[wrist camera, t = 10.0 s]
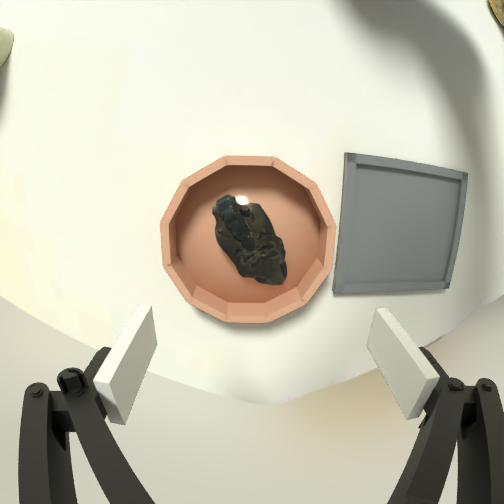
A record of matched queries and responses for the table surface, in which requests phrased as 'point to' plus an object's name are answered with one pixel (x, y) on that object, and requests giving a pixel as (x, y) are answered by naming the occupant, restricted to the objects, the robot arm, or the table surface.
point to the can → (5, 44)
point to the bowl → (217, 261)
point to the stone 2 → (498, 9)
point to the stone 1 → (250, 240)
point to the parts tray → (397, 225)
